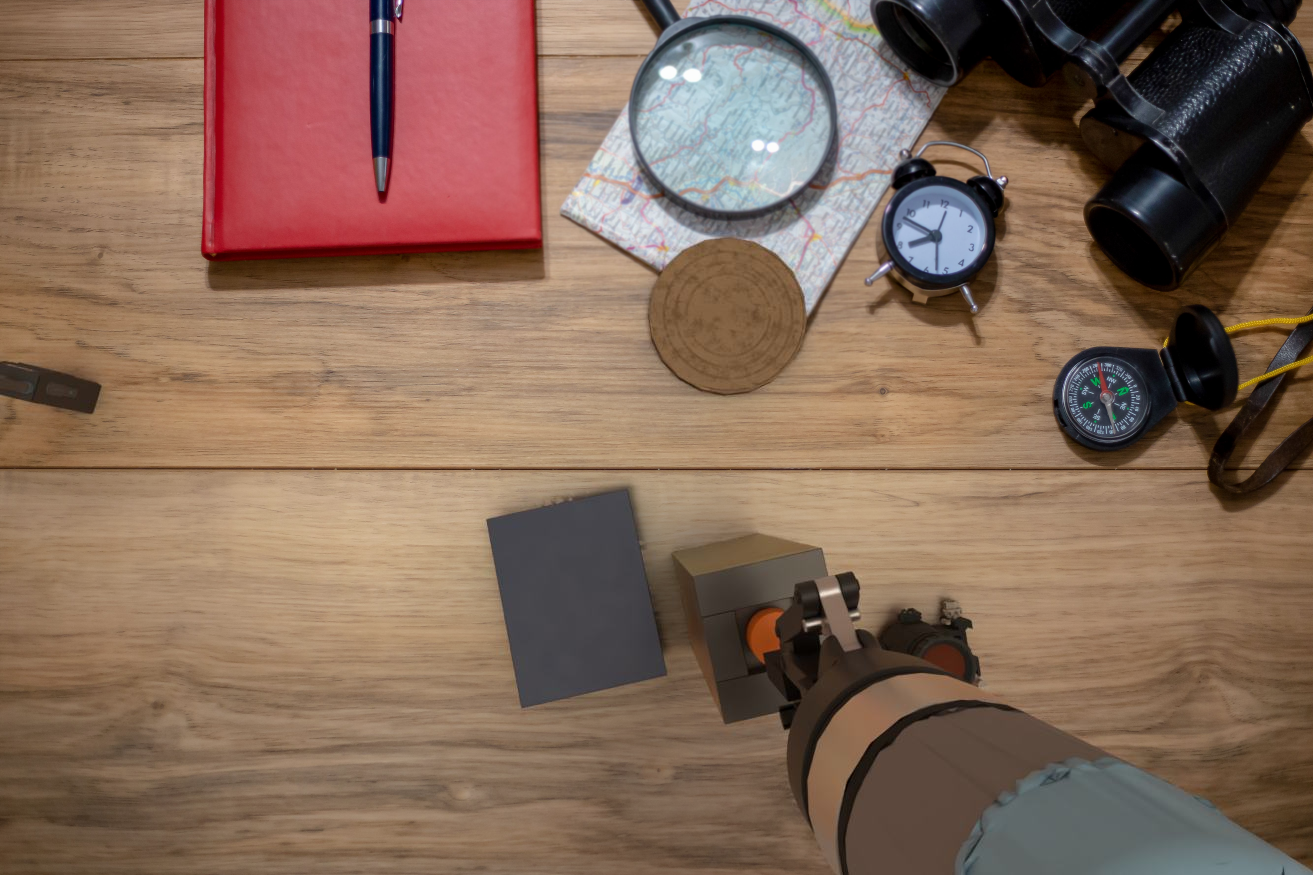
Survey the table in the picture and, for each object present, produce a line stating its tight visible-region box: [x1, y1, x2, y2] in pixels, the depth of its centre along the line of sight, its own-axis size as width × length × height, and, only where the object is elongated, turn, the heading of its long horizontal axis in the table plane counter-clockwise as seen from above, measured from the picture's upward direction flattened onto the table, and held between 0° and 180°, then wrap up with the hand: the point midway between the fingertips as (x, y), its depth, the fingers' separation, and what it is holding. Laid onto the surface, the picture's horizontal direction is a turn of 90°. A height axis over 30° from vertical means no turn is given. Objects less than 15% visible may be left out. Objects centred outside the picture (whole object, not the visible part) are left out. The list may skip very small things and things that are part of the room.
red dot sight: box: [879, 599, 989, 688], centre depth 82 cm, size 8×14×10 cm
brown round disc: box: [647, 236, 808, 397], centre depth 89 cm, size 16×16×3 cm
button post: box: [671, 532, 829, 725], centre depth 74 cm, size 10×9×30 cm
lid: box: [485, 488, 668, 709], centre depth 78 cm, size 17×13×1 cm
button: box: [746, 608, 785, 664], centre depth 58 cm, size 4×4×2 cm
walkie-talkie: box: [0, 360, 102, 415], centre depth 78 cm, size 5×3×20 cm
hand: (787, 660), depth 52 cm, fingers closed
